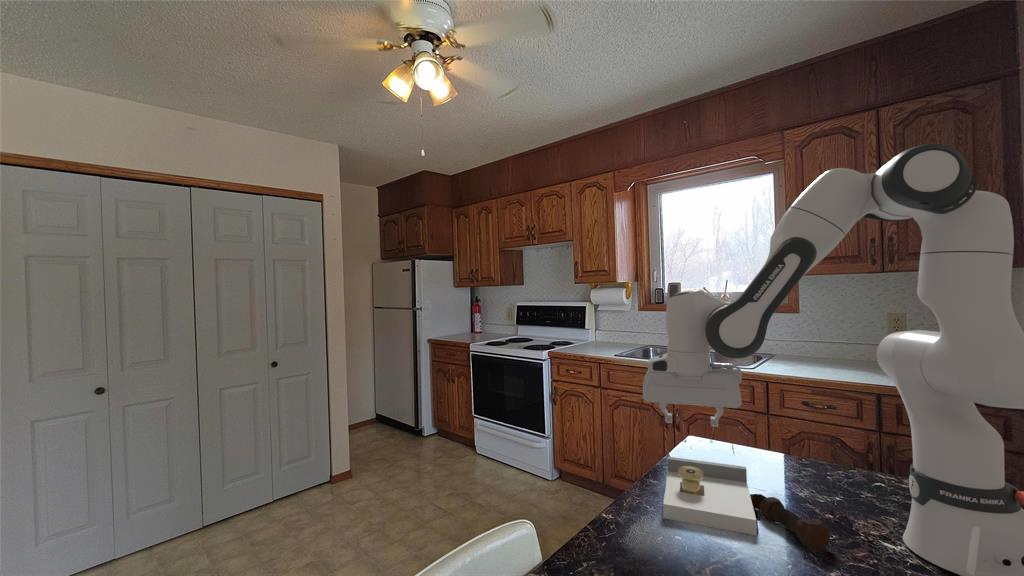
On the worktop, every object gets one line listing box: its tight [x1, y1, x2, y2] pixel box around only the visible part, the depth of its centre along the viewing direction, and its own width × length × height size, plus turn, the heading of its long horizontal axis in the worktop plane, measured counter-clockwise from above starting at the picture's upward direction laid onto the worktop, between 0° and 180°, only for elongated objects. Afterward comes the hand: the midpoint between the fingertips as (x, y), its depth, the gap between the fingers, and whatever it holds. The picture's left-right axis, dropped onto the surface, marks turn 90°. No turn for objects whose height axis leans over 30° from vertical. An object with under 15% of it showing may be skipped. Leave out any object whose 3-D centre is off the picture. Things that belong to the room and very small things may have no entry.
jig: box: [662, 456, 758, 537], centre depth 92 cm, size 17×18×6 cm
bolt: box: [751, 493, 831, 553], centre depth 83 cm, size 6×5×15 cm
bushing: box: [678, 466, 703, 495], centre depth 93 cm, size 5×5×7 cm
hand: (691, 423), depth 93 cm, fingers open, 8 cm apart
